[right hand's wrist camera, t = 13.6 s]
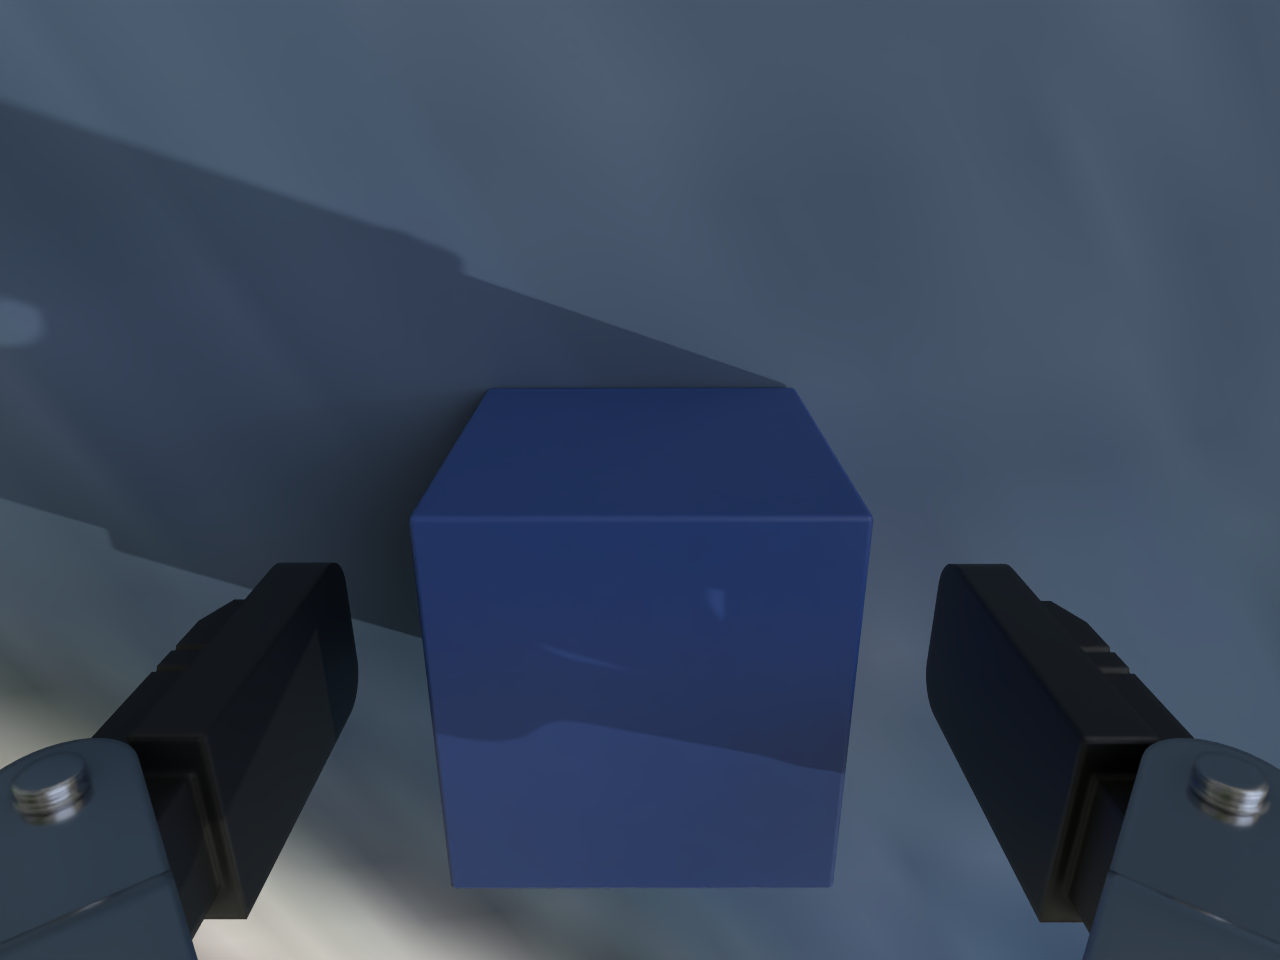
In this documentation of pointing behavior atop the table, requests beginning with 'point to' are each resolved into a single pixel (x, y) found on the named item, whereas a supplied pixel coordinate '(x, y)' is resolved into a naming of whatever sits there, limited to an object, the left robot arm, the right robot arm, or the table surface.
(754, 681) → the block
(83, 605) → the table surface
